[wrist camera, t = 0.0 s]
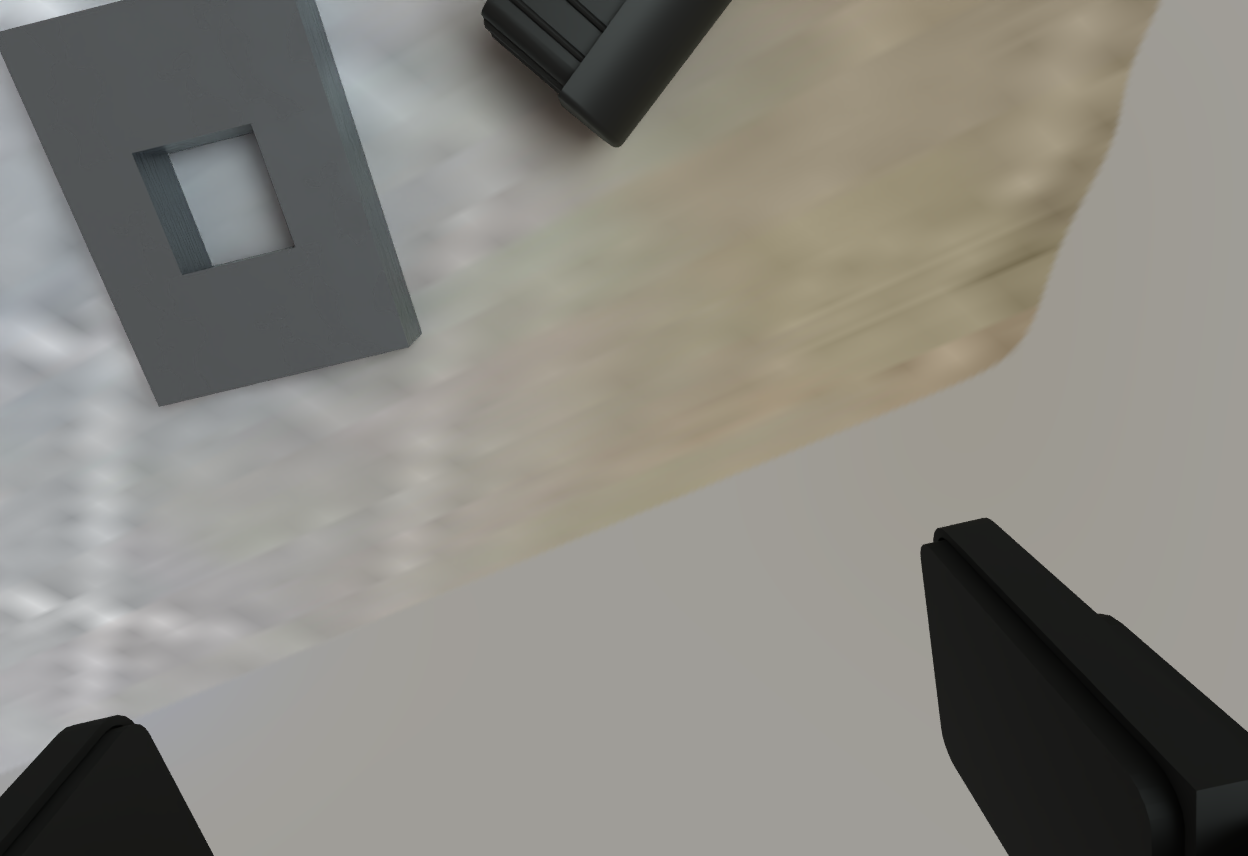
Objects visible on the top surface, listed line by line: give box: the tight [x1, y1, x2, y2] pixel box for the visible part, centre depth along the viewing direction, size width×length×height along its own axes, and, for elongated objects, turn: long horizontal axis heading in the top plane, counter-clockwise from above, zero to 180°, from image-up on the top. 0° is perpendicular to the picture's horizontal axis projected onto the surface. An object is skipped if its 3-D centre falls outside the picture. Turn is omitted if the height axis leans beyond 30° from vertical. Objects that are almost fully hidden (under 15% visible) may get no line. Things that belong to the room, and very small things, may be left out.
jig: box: [0, 0, 422, 407], centre depth 35 cm, size 16×12×3 cm
